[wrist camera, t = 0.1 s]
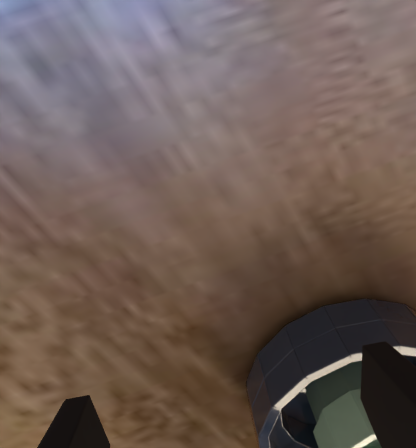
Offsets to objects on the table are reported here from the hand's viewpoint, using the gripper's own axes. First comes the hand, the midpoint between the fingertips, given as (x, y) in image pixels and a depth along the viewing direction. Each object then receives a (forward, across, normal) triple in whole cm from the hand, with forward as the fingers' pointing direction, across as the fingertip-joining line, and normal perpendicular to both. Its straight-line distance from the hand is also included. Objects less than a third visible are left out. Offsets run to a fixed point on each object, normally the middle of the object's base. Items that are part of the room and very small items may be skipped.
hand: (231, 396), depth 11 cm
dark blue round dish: (+10, -7, +12) cm, 17 cm away
